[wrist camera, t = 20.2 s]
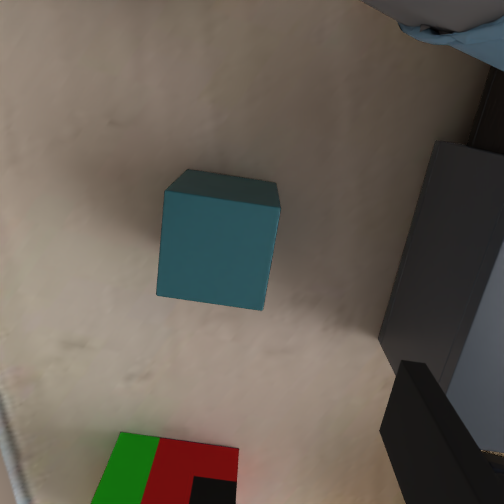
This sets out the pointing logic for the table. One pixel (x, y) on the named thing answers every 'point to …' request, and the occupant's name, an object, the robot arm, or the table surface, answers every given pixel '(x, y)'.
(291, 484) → the table surface
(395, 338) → the cabinet
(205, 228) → the block
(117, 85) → the table surface
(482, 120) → the drawer
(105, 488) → the puzzle toy
